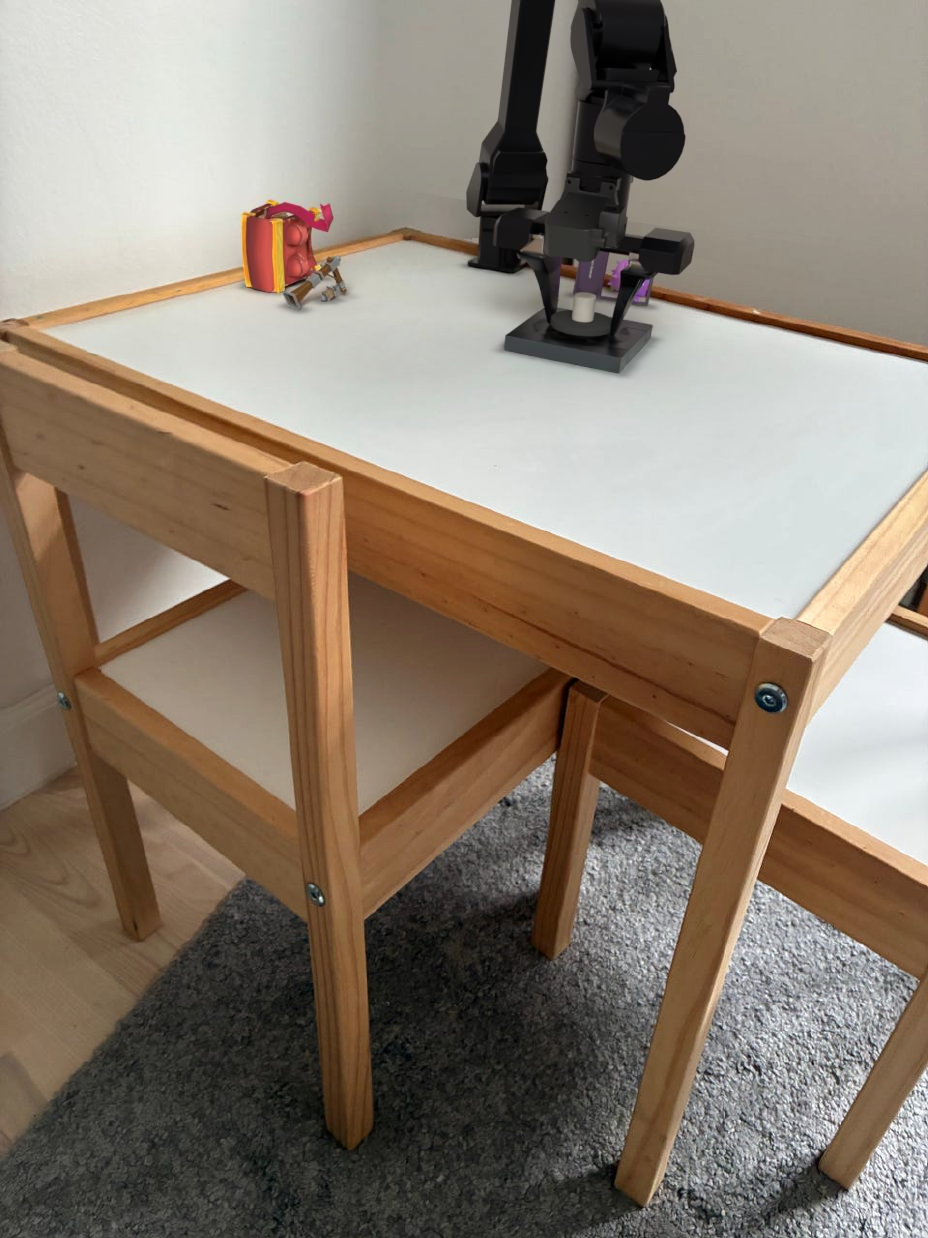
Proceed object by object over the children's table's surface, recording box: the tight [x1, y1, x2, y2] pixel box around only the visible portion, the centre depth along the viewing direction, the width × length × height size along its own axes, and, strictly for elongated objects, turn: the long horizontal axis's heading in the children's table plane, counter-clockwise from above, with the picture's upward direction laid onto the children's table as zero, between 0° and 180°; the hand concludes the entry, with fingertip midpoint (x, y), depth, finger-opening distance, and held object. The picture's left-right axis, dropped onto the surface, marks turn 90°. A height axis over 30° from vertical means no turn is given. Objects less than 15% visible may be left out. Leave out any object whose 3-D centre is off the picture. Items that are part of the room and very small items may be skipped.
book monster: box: [240, 199, 334, 294], centre depth 101 cm, size 11×9×12 cm
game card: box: [572, 251, 655, 307], centre depth 106 cm, size 7×5×9 cm
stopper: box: [550, 292, 612, 339], centre depth 91 cm, size 6×6×4 cm
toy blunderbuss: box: [281, 255, 348, 311], centre depth 99 cm, size 2×8×4 cm, turn 138°
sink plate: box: [503, 307, 654, 374], centre depth 92 cm, size 12×12×2 cm
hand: (581, 328), depth 92 cm, fingers closed on stopper, 6 cm apart
